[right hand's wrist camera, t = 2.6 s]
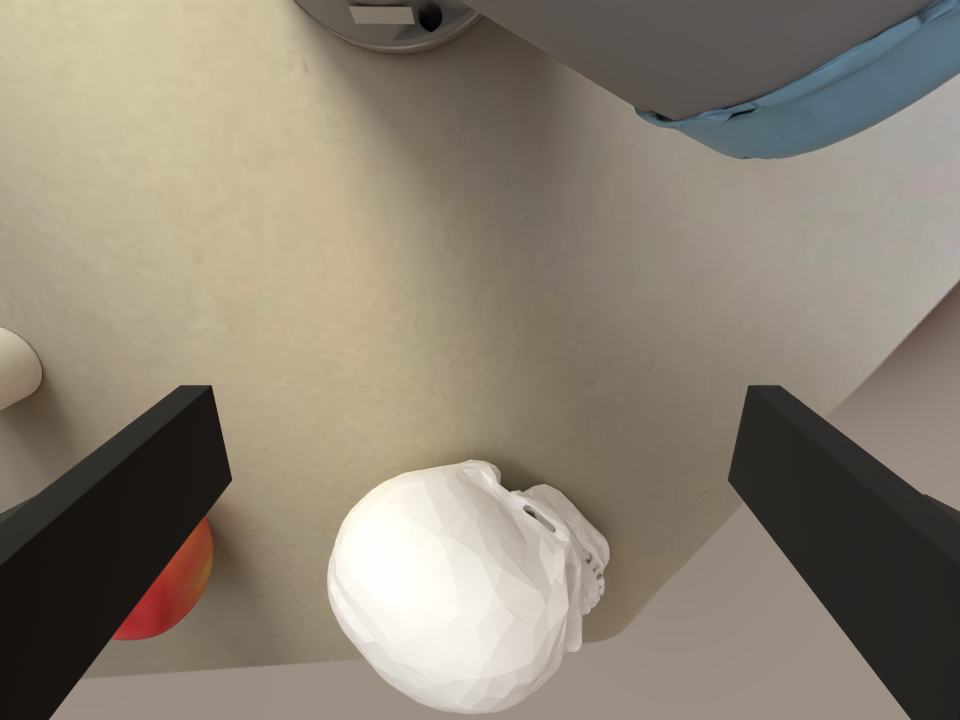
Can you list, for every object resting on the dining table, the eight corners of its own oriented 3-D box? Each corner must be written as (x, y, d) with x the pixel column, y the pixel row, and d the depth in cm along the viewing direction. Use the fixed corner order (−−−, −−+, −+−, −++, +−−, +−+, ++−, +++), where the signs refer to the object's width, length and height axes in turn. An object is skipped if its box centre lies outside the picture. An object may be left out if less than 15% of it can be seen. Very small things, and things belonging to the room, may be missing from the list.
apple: (150, 452, 41) (53, 539, 32) (257, 507, 43) (196, 604, 34) (108, 531, 44) (8, 631, 35) (211, 579, 46) (143, 686, 37)
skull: (580, 597, 47) (630, 794, 32) (344, 545, 44) (279, 732, 29) (634, 477, 42) (720, 640, 27) (376, 413, 40) (317, 553, 25)
